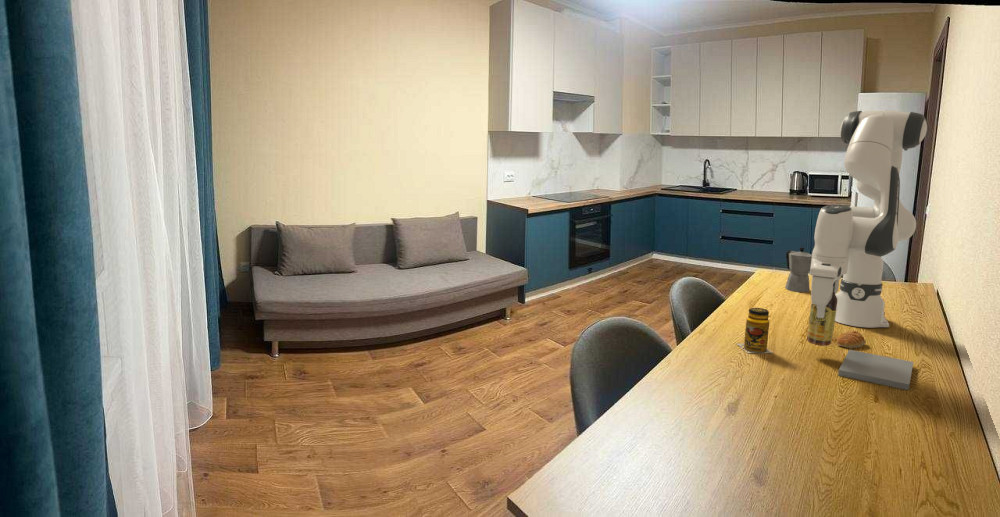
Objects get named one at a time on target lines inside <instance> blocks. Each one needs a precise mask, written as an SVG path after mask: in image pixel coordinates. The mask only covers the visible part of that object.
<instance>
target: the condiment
mask: <svg viewBox="0 0 1000 517" xmlns="http://www.w3.org/2000/svg"><path fill="white" fill-rule="evenodd" d="M769 314H770V312H769V310H768V309H767V308H766V309H765V308H762V307H751V308H749V309H748V314H747V317H746V322H745V329H744V330H745V331H744V342H743V343H735V344H736V345H737V346H739V348H740V349H742V350H743V351H745V350H746V351H745V352H746V353H748V354H774V353H773V351H772V350H770V349H768V339H769V330H770V328H769V327H770V320H769V317H770V316H769ZM743 346H744V349H743ZM747 351H748V352H747Z"/></svg>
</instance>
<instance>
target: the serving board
mask: <svg viewBox="0 0 1000 517" xmlns="http://www.w3.org/2000/svg"><path fill="white" fill-rule="evenodd" d="M913 366H914V361H911V360H910V361H909V360H906V359H900V358H895V357H889V356H883V355H880V354H879V355H878V354H875V353H874V354H873V353H868V352H863V351H859V350H853V349H848V352H847V354H846V355H845V357H844V359H843V361H842V363H841V364H840V367H839V369H838V374H837V376H839V377H845V378H848V379H854V380H858V381H864V382H867V383H872V384H877V385H882V386H887V387H892V388H895V389H901V390H904V391H905V390H906V391H909V389H910V383H911V379H912V372H913Z"/></svg>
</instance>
